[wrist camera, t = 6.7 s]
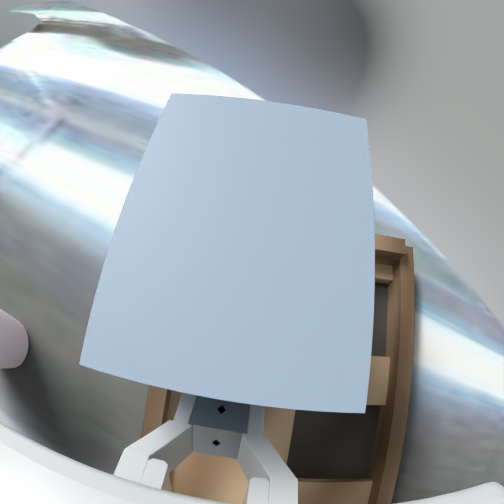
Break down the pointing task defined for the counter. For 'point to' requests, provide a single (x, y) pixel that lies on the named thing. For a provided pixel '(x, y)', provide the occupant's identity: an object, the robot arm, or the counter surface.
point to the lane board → (328, 414)
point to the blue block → (244, 258)
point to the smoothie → (12, 341)
